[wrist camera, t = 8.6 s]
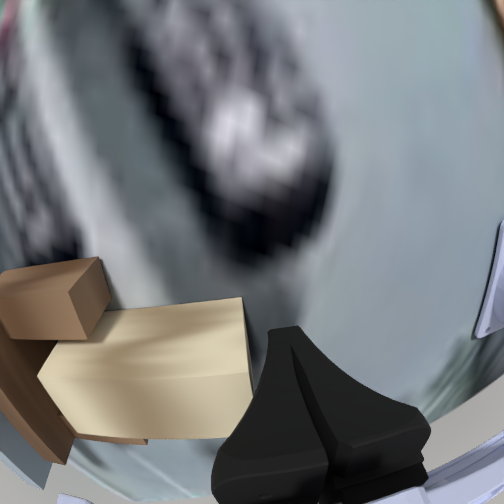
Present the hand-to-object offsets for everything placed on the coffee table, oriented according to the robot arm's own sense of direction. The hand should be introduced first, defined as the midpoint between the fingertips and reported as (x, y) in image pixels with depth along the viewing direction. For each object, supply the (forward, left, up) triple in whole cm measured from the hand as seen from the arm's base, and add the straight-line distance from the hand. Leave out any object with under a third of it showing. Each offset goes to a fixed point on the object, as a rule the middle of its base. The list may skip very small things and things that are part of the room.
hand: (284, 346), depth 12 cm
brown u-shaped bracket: (+10, 0, -1) cm, 10 cm away
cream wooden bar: (+5, 0, -1) cm, 6 cm away
